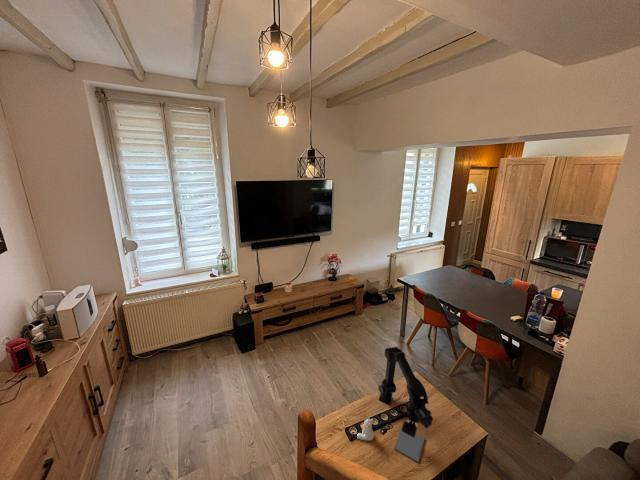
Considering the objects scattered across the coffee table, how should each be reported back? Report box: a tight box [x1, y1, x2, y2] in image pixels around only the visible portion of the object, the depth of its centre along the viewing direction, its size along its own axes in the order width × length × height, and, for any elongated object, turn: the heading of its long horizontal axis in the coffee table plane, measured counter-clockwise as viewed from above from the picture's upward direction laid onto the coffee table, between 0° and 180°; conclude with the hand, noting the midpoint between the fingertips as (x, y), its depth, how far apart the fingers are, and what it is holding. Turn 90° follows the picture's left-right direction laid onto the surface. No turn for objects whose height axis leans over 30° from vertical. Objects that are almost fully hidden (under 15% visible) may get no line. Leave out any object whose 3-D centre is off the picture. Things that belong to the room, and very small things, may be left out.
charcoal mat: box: [393, 427, 425, 464], centre depth 138 cm, size 12×14×1 cm
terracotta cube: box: [406, 419, 419, 438], centre depth 135 cm, size 5×5×5 cm
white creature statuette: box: [356, 418, 375, 442], centre depth 141 cm, size 10×9×12 cm
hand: (411, 430), depth 136 cm, fingers closed on terracotta cube, 5 cm apart
